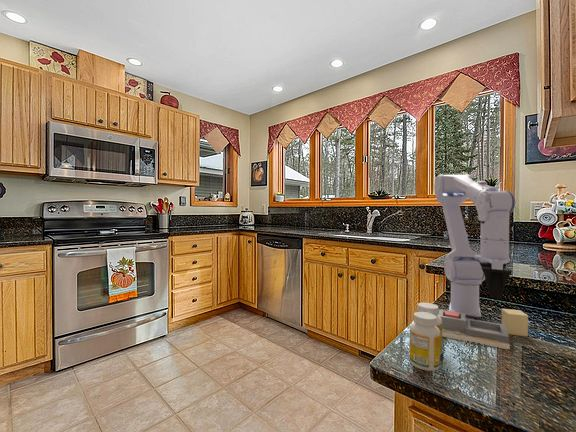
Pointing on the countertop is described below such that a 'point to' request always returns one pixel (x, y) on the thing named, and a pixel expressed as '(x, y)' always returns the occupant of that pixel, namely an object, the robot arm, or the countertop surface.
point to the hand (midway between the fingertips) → (493, 293)
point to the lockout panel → (474, 330)
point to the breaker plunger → (452, 314)
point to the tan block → (515, 322)
